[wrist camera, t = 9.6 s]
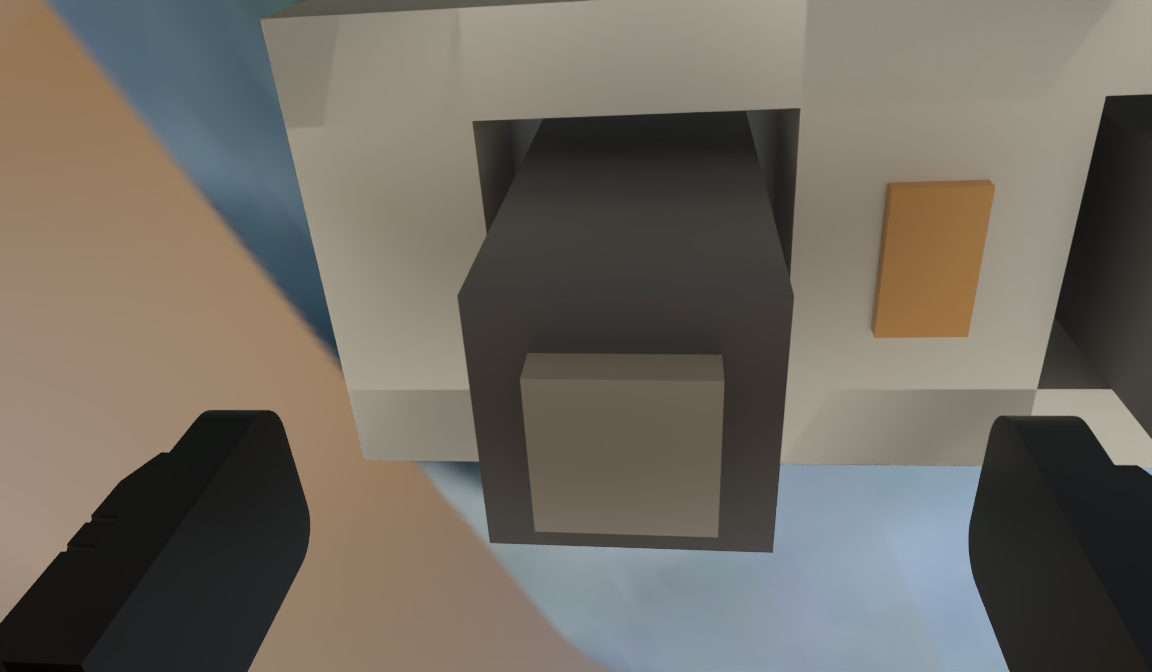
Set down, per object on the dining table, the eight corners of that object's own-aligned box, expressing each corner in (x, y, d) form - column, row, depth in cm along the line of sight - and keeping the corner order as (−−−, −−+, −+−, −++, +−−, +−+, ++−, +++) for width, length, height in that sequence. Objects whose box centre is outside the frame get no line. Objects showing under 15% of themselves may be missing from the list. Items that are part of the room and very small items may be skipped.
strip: (413, 362, 22) (359, 468, 18) (342, -16, 17) (251, 22, 14) (1367, 358, 19) (1534, 481, 15) (1570, -90, 15) (1870, -68, 11)
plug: (544, 115, 17) (445, 319, 10) (745, 110, 17) (800, 320, 9) (556, 292, 19) (481, 573, 12) (737, 292, 19) (776, 584, 11)
